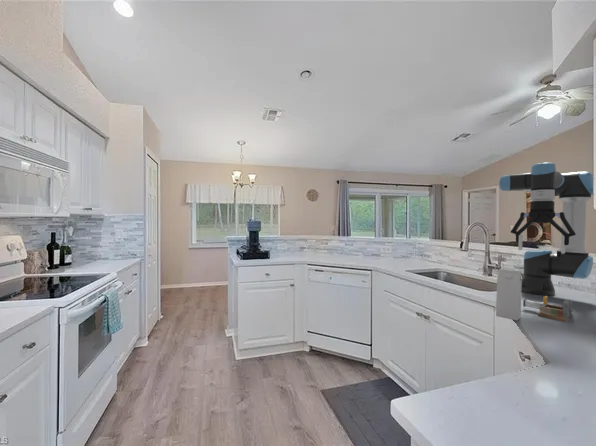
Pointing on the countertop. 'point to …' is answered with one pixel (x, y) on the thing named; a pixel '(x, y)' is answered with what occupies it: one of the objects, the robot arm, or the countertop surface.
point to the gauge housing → (557, 311)
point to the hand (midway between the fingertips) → (540, 251)
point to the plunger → (535, 303)
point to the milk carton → (509, 294)
